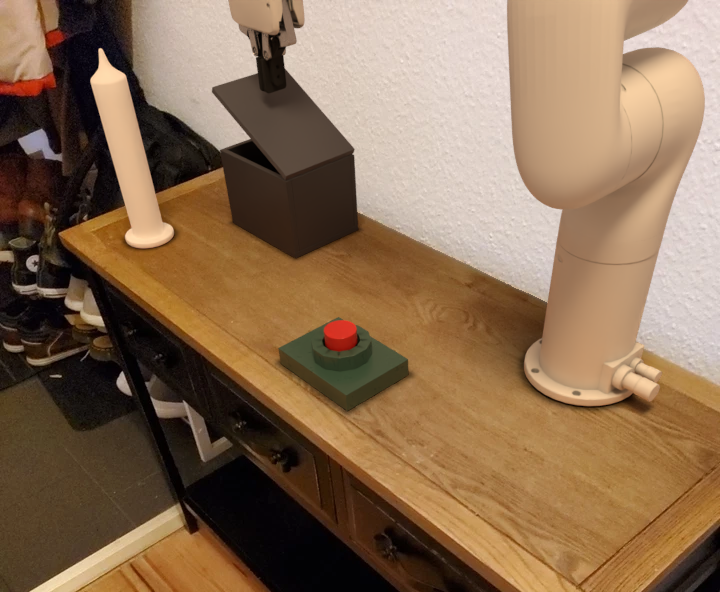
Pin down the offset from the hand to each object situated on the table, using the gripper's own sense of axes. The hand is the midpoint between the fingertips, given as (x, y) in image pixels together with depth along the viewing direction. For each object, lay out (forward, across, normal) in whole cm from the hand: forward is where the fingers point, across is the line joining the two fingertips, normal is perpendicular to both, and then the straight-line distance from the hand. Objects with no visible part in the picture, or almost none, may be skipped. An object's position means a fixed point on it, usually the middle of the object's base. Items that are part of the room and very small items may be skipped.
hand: (273, 89), depth 97 cm
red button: (+15, -33, +17) cm, 40 cm away
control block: (+18, -33, +18) cm, 42 cm away
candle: (+19, +12, +17) cm, 28 cm away
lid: (+4, -1, 0) cm, 4 cm away
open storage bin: (+19, -1, 0) cm, 19 cm away
